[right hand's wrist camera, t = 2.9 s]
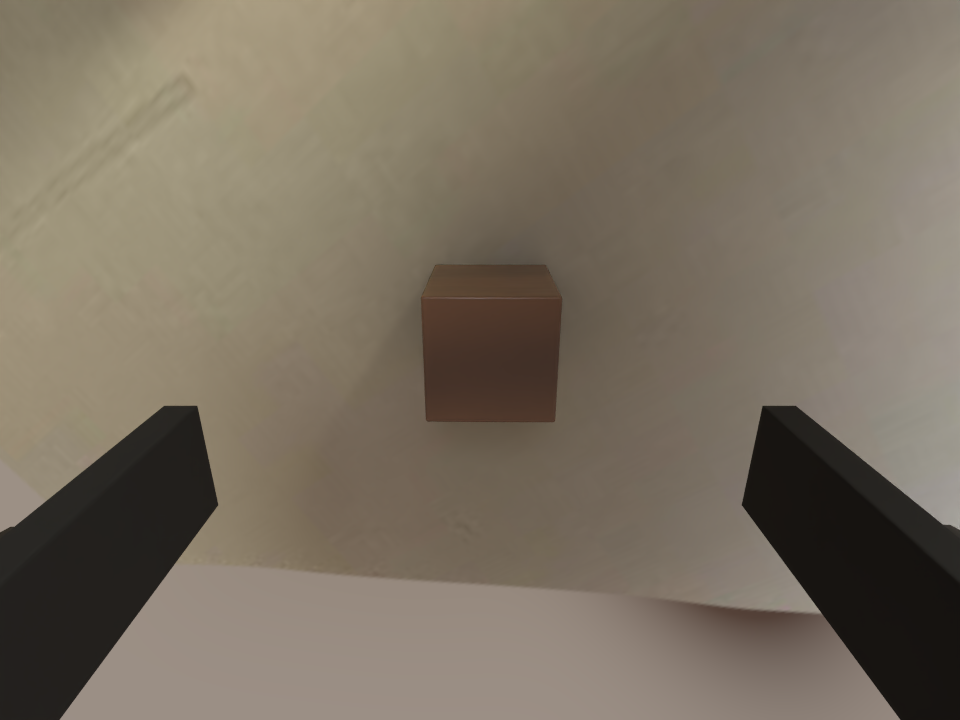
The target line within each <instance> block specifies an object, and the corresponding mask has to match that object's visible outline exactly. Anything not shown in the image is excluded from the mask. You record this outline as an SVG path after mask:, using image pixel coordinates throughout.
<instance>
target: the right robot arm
mask: <svg viewBox="0 0 960 720" xmlns="http://www.w3.org/2000/svg"><path fill="white" fill-rule="evenodd" d="M217 506H218V502H217V497H216V492H215V487H214V483H213V478H212V473H211V469H210V464H209V459H208V454H207V450H206V445H205V440H204V435H203V431H202V426H201V421H200V417H199V412H198V407H197V406H164V407H162V408H161V409H160V410H159V411H157V412H156V413H155V414H154V415H152V416H151V417H150V418H149V419H147V420H146V421H145V422H144V423H143V424H141V425H140V426H139V427H138V428H136V429H135V430H134V431H133V432H131V433H130V434H129V435H128V436H126V437H125V438H124V439H123V440H121V441H120V442H119V443H118V444H116V445H115V446H114V447H113V448H112V449H110V450H109V451H108V452H107V453H105V454H104V455H103V456H102V457H100V458H99V459H98V460H97V461H95V462H94V463H93V464H92V465H90V466H89V467H88V468H87V469H86V470H84V471H83V472H82V473H81V474H79V475H78V476H77V477H76V478H74V479H73V480H72V481H71V482H69V483H68V484H67V485H66V486H64V487H63V488H62V489H61V490H60V491H58V492H57V493H56V494H55V495H53V496H52V497H51V498H50V499H48V500H47V501H46V502H45V503H43V504H42V505H41V506H40V507H38V508H37V509H36V510H35V511H34V512H32V513H31V514H30V515H29V516H27V517H26V518H25V519H24V520H22V521H21V522H20V523H19V524H17V525H16V526H15V527H9V528H8V529H6V530H4V531H2V532H0V720H60V718H61V717H62V716H63V714H64V713H65V712H66V710H67V709H68V708H69V706H70V705H71V703H72V702H73V701H74V699H75V698H76V697H77V695H78V694H79V693H80V691H81V690H82V689H83V687H84V686H85V685H86V683H87V682H88V680H89V679H90V678H91V676H92V675H93V674H94V672H95V671H96V670H97V668H98V667H99V666H100V664H101V663H102V662H103V660H104V659H105V657H106V656H107V655H108V653H109V652H110V651H111V649H112V648H113V647H114V645H115V644H116V643H117V641H118V640H119V639H120V637H121V636H122V634H123V633H124V632H125V630H126V629H127V628H128V626H129V625H130V624H131V622H132V621H133V620H134V618H135V617H136V616H137V614H138V613H139V611H140V610H141V609H142V607H143V606H144V605H145V603H146V602H147V601H148V599H149V598H150V597H151V595H152V594H153V593H154V591H155V590H156V589H157V587H158V586H159V584H160V583H161V582H162V580H163V579H164V578H165V576H166V575H167V574H168V572H169V571H170V569H171V568H172V567H173V566H174V564H175V563H176V561H177V560H178V559H179V557H180V556H181V555H182V553H183V552H184V551H185V549H186V548H187V547H188V545H189V544H190V543H191V541H192V540H193V538H194V537H195V536H196V534H197V533H198V532H199V530H200V529H201V528H202V526H203V525H204V524H205V522H206V521H207V520H208V518H209V517H210V515H211V514H212V513H213V511H214V510H215V509H216V507H217ZM742 506H743V507H744V509H745V510H746V511H747V513H748V514H749V515H750V517H751V518H752V520H753V521H754V522H755V524H756V525H757V526H758V528H759V529H760V530H761V532H762V533H763V534H764V536H765V537H766V538H767V540H768V541H769V543H770V544H771V545H772V547H773V548H774V549H775V551H776V552H777V553H778V555H779V556H780V557H781V559H782V560H783V561H784V563H785V564H786V566H787V567H788V568H789V570H790V571H791V572H792V574H793V575H794V576H795V578H796V579H797V580H798V582H799V583H800V584H801V586H802V587H803V589H804V590H805V591H806V593H807V594H808V595H809V597H810V598H811V599H812V601H813V602H814V603H815V605H816V606H817V607H818V609H819V610H820V611H821V613H822V614H823V616H824V617H825V618H826V620H827V621H828V622H829V624H830V625H831V626H832V628H833V629H834V630H835V632H836V633H837V634H838V636H839V637H840V639H841V640H842V641H843V642H844V644H845V645H846V647H847V648H848V649H849V651H850V652H851V653H852V655H853V656H854V657H855V659H856V660H857V661H858V663H859V664H860V666H861V667H862V668H863V670H864V671H865V672H866V674H867V675H868V676H869V678H870V679H871V680H872V682H873V683H874V685H875V686H876V687H877V689H878V690H879V691H880V693H881V694H882V695H883V697H884V698H885V699H886V701H887V702H888V703H889V705H890V706H891V707H892V709H893V710H894V711H895V713H896V714H897V716H898V717H899V718H900V720H960V530H959V529H957V528H955V527H953V526H951V525H943V524H941V523H940V522H939V521H938V520H936V519H935V518H934V517H933V516H931V515H930V514H929V513H928V512H926V511H925V510H924V509H923V508H922V507H920V506H919V505H918V504H917V503H915V502H914V501H913V500H912V499H910V498H909V497H908V496H907V495H905V494H904V493H903V492H902V491H900V490H899V489H898V488H897V487H896V486H894V485H893V484H892V483H891V482H889V481H888V480H887V479H886V478H884V477H883V476H882V475H881V474H879V473H878V472H877V471H876V470H874V469H873V468H872V467H871V466H870V465H868V464H867V463H866V462H865V461H863V460H862V459H861V458H860V457H858V456H857V455H856V454H855V453H853V452H852V451H851V450H850V449H848V448H847V447H846V446H845V445H844V444H842V443H841V442H840V441H839V440H837V439H836V438H835V437H834V436H832V435H831V434H830V433H829V432H827V431H826V430H825V429H824V428H822V427H821V426H820V425H819V424H817V423H816V422H815V421H814V420H813V419H811V418H810V417H809V416H808V415H806V414H805V413H804V412H803V411H801V410H800V409H799V408H798V407H796V406H763V407H762V412H761V417H760V421H759V426H758V431H757V435H756V440H755V445H754V450H753V454H752V459H751V464H750V469H749V473H748V478H747V483H746V487H745V492H744V497H743V502H742Z"/></svg>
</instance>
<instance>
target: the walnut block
mask: <svg viewBox="0 0 960 720" xmlns="http://www.w3.org/2000/svg"><path fill="white" fill-rule="evenodd" d="M561 310H562V297H561V295H560V293H559V291H558V289H557V287H556V285H555V283H554V281H553V279H552V277H551V275H550V273H549V271H548V269H547V267H546V265H435V267H434V270H433V272H432V274H431V276H430V279H429V281H428V283H427V286H426V288H425V290H424V292H423V295H422V297H421V311H422V335H423V359H424V383H425V407H426V420H427V421H446V422H554V421H555V414H556V397H557V379H558V362H559V345H560V328H561Z"/></svg>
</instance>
